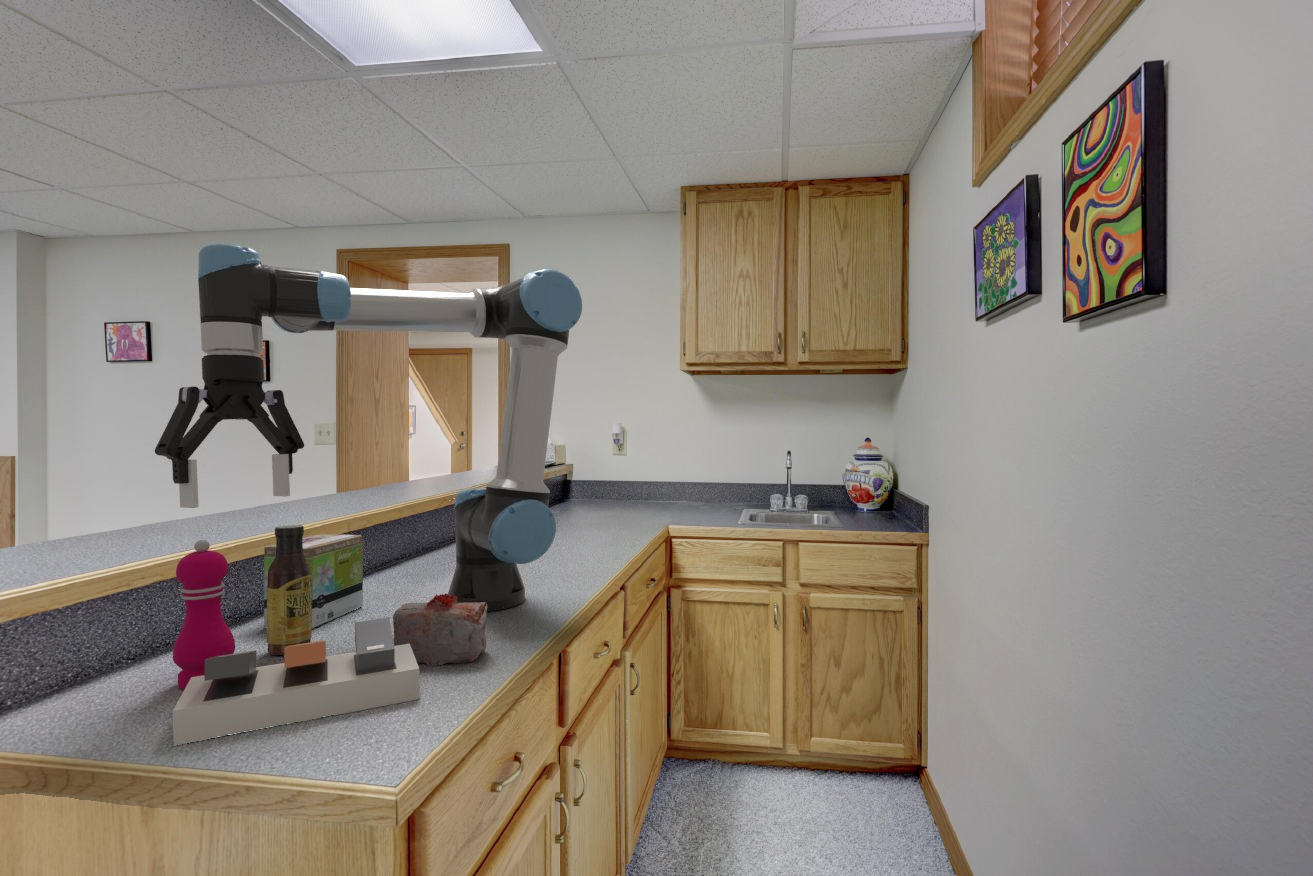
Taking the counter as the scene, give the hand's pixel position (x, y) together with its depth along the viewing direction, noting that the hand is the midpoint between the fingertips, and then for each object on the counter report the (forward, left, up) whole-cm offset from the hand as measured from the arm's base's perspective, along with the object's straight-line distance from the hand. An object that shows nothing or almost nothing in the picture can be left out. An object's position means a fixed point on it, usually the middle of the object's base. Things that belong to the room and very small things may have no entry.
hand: (238, 501), depth 94 cm
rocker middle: (-9, +18, -20) cm, 28 cm away
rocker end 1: (-1, +18, -20) cm, 26 cm away
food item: (-27, +9, -25) cm, 38 cm away
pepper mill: (+4, +2, -25) cm, 25 cm away
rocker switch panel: (-9, +18, -25) cm, 32 cm away
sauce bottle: (-6, -7, -25) cm, 27 cm away
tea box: (-9, -26, -25) cm, 37 cm away
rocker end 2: (-17, +17, -20) cm, 31 cm away
